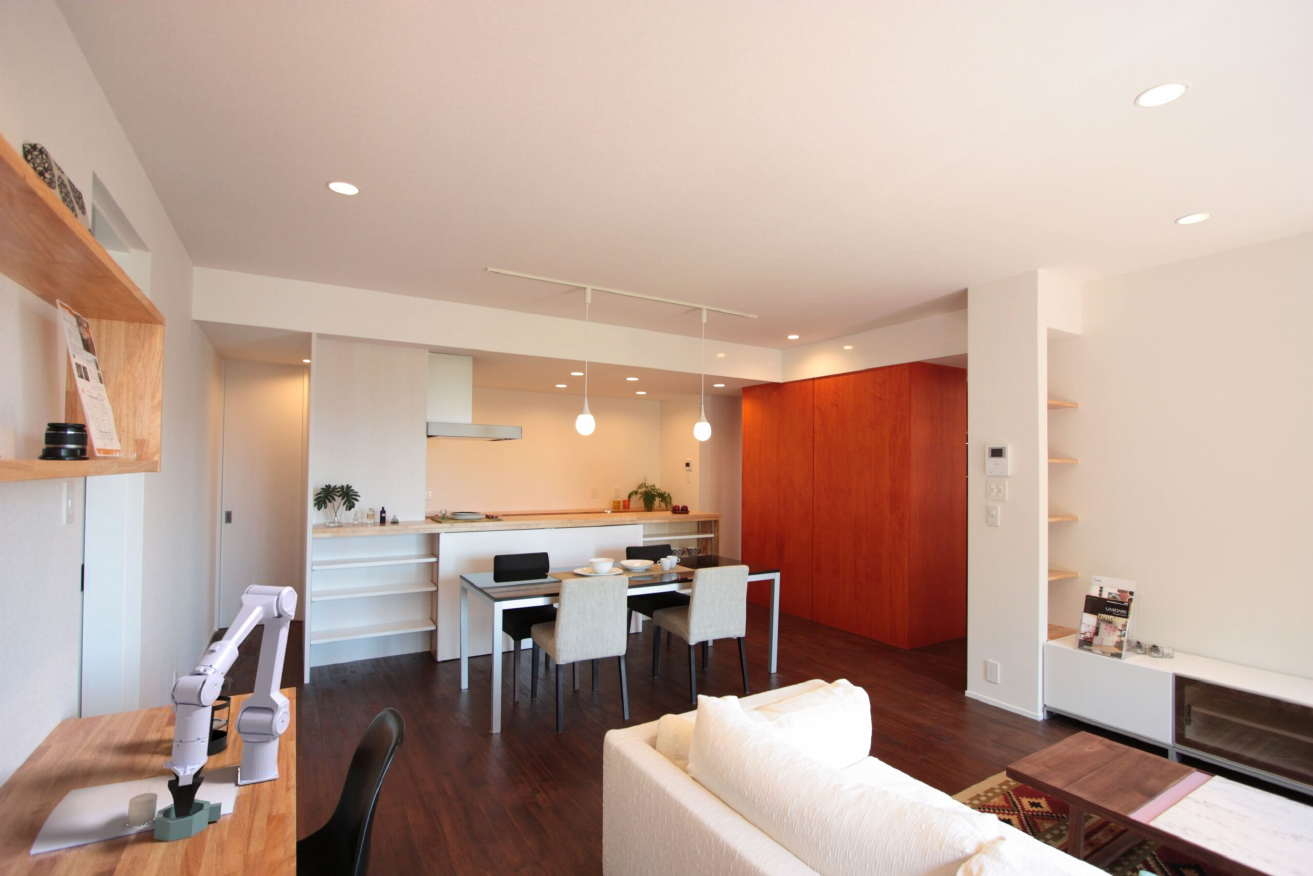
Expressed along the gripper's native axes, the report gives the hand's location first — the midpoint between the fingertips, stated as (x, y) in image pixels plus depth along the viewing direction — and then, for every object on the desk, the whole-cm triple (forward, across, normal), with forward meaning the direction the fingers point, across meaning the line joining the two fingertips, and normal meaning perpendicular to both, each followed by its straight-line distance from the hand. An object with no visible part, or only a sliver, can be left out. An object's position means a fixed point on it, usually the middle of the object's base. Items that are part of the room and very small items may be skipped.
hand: (183, 808), depth 125 cm
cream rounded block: (+4, -7, -7) cm, 11 cm away
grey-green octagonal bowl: (+4, 0, 0) cm, 4 cm away
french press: (+4, -41, +2) cm, 41 cm away
